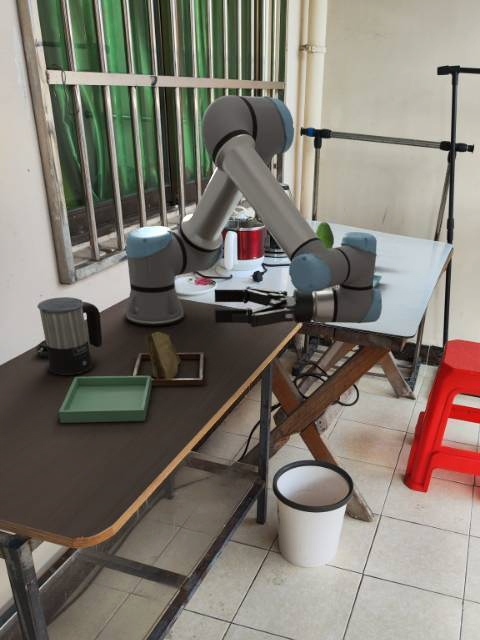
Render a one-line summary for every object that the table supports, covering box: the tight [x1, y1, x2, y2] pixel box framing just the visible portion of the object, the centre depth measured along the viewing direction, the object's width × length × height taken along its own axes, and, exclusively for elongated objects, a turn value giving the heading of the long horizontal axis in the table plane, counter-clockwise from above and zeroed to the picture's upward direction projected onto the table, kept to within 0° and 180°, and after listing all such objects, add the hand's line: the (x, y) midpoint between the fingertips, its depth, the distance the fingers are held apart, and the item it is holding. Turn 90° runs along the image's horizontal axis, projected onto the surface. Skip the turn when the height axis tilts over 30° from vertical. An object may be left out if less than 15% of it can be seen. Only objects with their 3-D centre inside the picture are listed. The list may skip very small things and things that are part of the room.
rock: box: [145, 331, 181, 379], centre depth 132 cm, size 11×9×10 cm
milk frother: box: [36, 296, 103, 376], centre depth 131 cm, size 14×16×15 cm
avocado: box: [315, 221, 335, 249], centre depth 235 cm, size 8×8×12 cm
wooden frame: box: [132, 352, 205, 387], centre depth 133 cm, size 15×15×1 cm
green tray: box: [58, 375, 153, 424], centre depth 118 cm, size 15×15×2 cm
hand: (214, 305), depth 127 cm, fingers open, 13 cm apart
